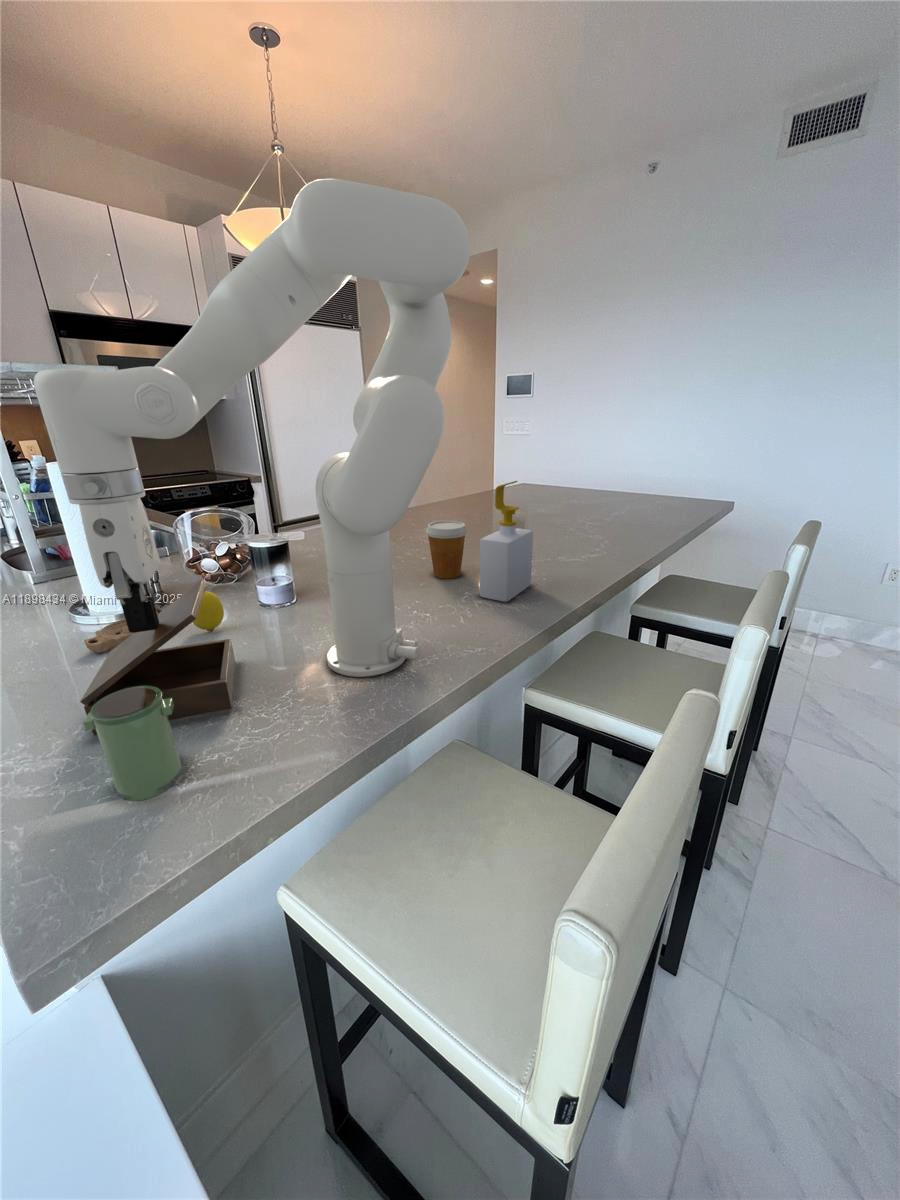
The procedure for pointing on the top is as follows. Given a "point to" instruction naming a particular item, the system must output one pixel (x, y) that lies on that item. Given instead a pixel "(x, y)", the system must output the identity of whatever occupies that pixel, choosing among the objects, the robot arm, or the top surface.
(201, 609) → the lemon
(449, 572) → the disposable coffee cup
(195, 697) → the chest
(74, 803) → the top surface
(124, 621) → the oil lamp
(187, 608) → the chest lid
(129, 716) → the green pot
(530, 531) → the soap bottle
